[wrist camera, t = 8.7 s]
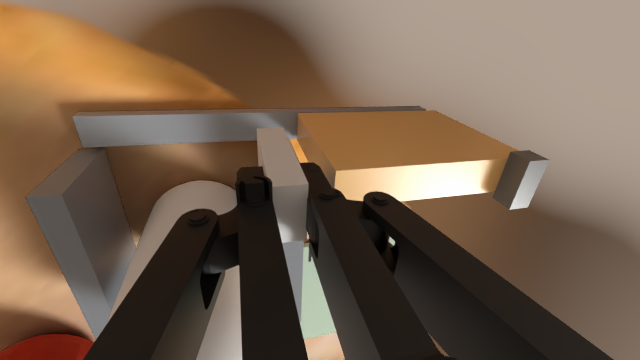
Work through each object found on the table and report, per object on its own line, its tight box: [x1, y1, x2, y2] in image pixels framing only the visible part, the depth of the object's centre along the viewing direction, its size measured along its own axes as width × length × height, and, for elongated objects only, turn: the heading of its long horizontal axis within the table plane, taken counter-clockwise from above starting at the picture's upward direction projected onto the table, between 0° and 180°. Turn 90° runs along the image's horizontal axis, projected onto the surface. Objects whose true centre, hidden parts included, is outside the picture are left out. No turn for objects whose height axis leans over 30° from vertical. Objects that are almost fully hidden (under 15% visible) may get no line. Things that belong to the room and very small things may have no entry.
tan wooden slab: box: [297, 110, 549, 209], centre depth 18 cm, size 11×3×10 cm, turn 87°
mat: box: [300, 237, 395, 339], centre depth 32 cm, size 14×14×1 cm
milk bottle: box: [108, 180, 242, 360], centre depth 16 cm, size 8×8×20 cm
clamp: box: [25, 106, 426, 339], centre depth 23 cm, size 25×16×6 cm, turn 87°
